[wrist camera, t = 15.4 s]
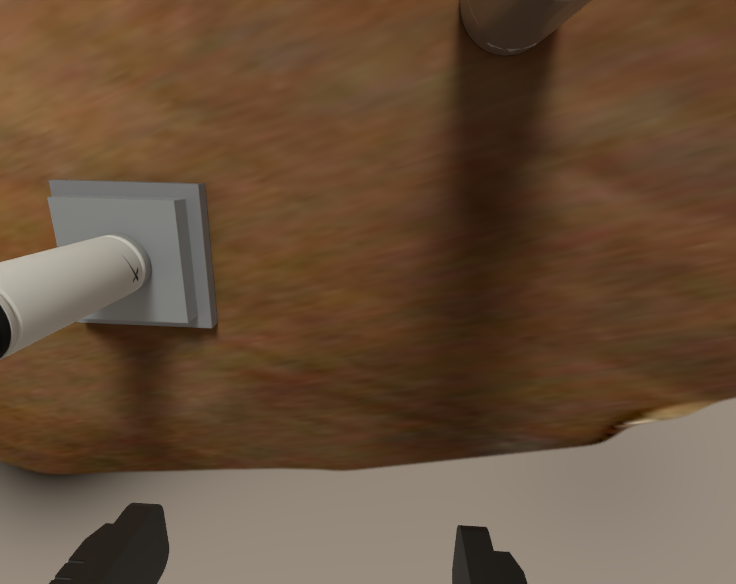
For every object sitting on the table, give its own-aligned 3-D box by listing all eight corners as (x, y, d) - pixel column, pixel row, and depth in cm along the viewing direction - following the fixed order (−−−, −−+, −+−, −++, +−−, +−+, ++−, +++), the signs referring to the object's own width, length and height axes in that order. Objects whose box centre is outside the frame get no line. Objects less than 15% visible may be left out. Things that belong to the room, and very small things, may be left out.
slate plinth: (60, 179, 45) (29, 181, 41) (204, 183, 44) (187, 185, 41) (86, 317, 50) (61, 330, 46) (217, 323, 49) (202, 336, 45)
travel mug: (165, 260, 43) (-16, 339, 24) (131, 303, 45) (-65, 409, 26) (115, 217, 42) (-116, 265, 23) (82, 263, 44) (-160, 343, 25)
